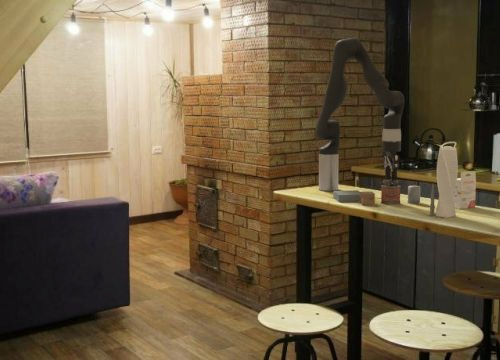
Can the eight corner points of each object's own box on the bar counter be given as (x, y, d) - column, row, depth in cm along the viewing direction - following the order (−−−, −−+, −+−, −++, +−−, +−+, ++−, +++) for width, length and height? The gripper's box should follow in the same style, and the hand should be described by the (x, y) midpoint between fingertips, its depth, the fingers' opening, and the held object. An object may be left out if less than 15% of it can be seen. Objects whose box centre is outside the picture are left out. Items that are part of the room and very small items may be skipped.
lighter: (399, 202, 258) (400, 179, 256) (400, 204, 254) (401, 180, 253) (380, 202, 258) (380, 179, 257) (381, 204, 255) (381, 180, 254)
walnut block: (359, 203, 258) (359, 191, 257) (371, 203, 258) (371, 191, 257) (362, 205, 253) (362, 193, 252) (374, 205, 253) (374, 193, 253)
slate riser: (333, 197, 272) (333, 190, 272) (357, 196, 273) (357, 190, 272) (338, 201, 261) (338, 194, 261) (364, 201, 262) (364, 194, 262)
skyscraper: (443, 213, 235) (445, 140, 231) (460, 217, 229) (463, 142, 225) (428, 216, 231) (430, 142, 227) (446, 219, 224) (448, 143, 220)
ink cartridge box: (465, 205, 251) (467, 169, 248) (475, 207, 246) (477, 170, 244) (450, 207, 247) (451, 171, 245) (459, 209, 242) (461, 172, 240)
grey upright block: (406, 202, 259) (406, 185, 258) (417, 201, 260) (418, 185, 259) (410, 204, 254) (410, 187, 253) (421, 203, 255) (422, 187, 254)
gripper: (377, 138, 259) (377, 177, 261) (387, 141, 245) (387, 181, 247) (395, 138, 260) (394, 176, 262) (406, 140, 246) (405, 180, 248)
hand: (390, 178), depth 255 cm, fingers open, 8 cm apart
